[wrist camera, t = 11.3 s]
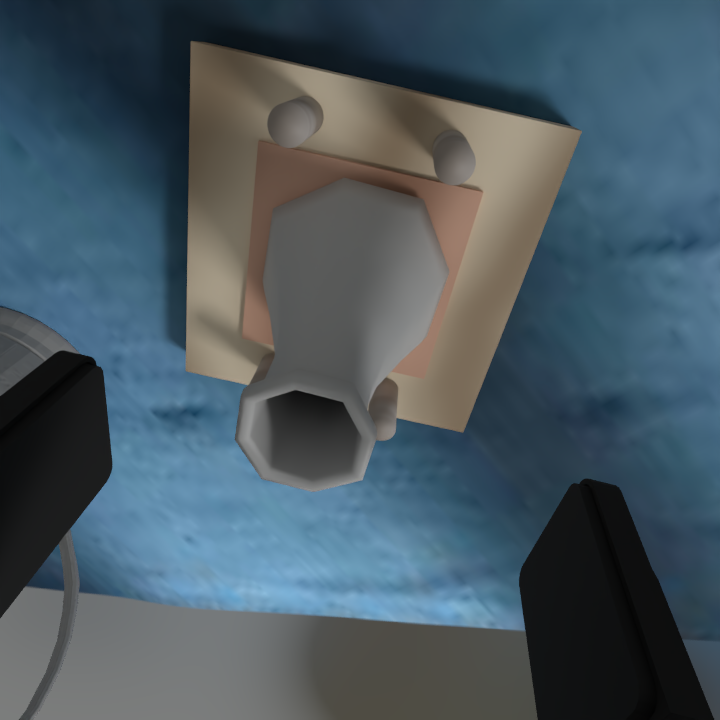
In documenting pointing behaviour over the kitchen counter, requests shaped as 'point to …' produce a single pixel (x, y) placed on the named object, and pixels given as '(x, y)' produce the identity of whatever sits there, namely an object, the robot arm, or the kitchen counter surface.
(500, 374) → the kitchen counter surface
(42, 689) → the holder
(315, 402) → the flask
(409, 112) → the four-post base plate
